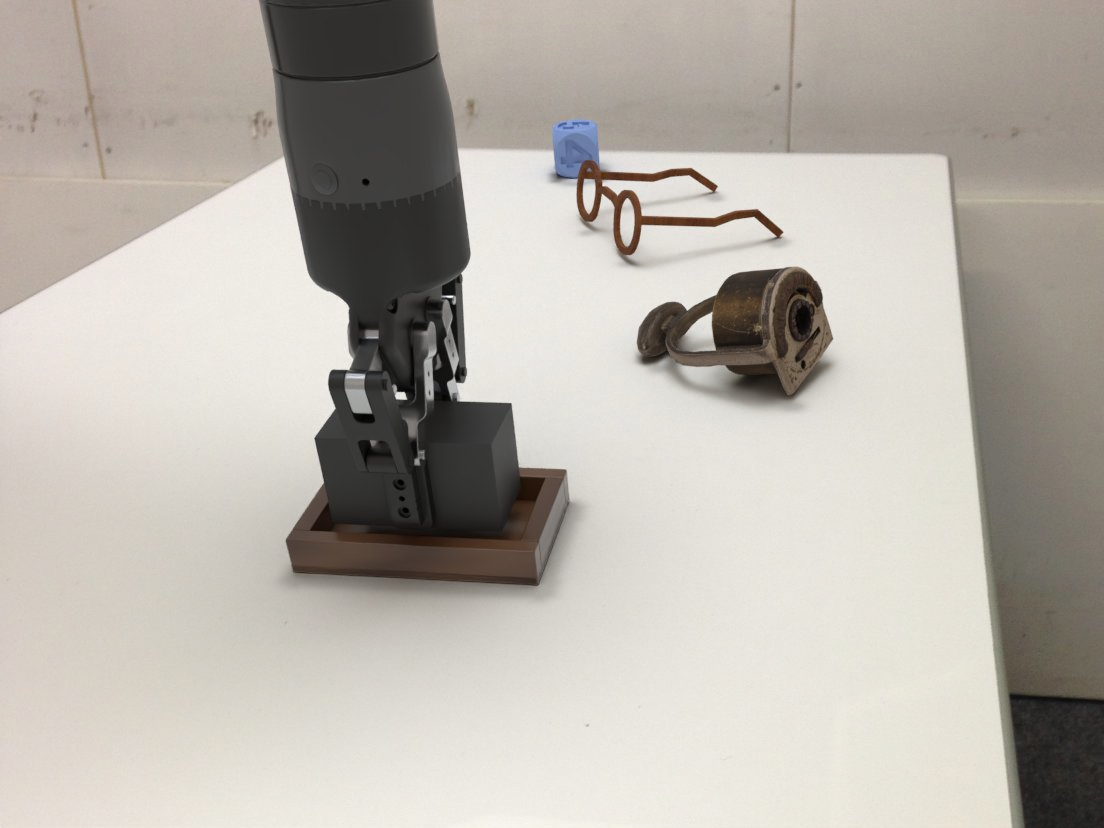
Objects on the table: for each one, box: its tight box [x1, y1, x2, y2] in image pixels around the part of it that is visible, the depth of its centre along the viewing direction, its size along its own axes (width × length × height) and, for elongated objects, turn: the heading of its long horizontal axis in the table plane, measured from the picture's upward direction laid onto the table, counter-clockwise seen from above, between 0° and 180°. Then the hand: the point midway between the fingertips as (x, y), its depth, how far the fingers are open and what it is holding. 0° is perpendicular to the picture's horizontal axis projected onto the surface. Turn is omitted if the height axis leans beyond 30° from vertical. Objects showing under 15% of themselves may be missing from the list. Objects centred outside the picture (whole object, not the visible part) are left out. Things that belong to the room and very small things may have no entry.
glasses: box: [575, 160, 784, 256], centre depth 102 cm, size 13×13×5 cm
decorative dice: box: [551, 118, 601, 179], centre depth 115 cm, size 4×4×4 cm
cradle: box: [285, 466, 570, 586], centre depth 68 cm, size 13×8×2 cm, turn 81°
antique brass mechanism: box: [636, 266, 834, 396], centre depth 81 cm, size 7×13×10 cm
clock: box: [313, 398, 521, 532], centre depth 66 cm, size 9×5×5 cm, turn 81°
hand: (428, 498), depth 67 cm, fingers closed on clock, 4 cm apart
